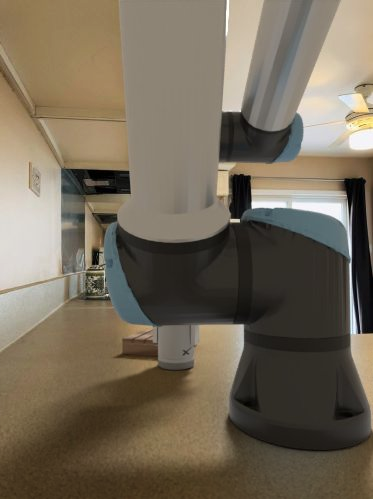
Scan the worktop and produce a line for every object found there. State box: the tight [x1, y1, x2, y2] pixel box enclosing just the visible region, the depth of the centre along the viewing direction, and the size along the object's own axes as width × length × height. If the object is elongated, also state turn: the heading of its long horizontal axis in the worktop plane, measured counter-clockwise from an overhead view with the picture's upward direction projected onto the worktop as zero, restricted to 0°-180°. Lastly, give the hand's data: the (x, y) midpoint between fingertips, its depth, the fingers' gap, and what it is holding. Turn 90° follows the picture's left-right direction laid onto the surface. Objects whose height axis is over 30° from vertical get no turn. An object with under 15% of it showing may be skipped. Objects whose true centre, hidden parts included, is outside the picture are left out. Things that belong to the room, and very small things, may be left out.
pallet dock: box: [121, 328, 198, 357], centre depth 76 cm, size 12×12×3 cm
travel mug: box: [157, 325, 195, 371], centre depth 64 cm, size 6×7×20 cm
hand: (176, 342), depth 64 cm, fingers closed on travel mug, 6 cm apart
